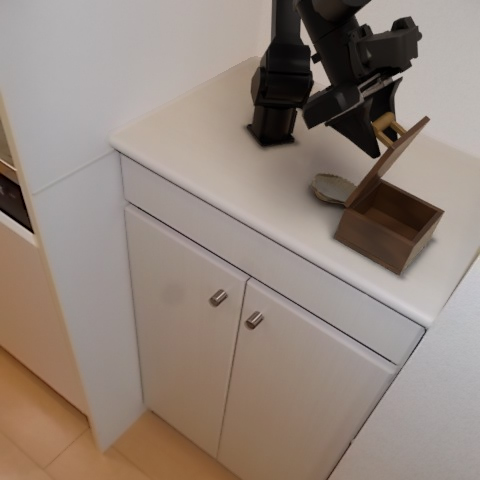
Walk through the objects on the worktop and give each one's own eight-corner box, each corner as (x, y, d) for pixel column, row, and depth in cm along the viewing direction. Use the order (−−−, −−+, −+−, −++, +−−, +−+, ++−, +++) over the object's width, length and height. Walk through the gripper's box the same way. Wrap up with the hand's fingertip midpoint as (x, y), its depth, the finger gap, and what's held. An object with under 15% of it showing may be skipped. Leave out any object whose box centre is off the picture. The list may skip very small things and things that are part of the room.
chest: (430, 239, 78) (445, 210, 74) (399, 275, 72) (414, 246, 68) (368, 206, 81) (379, 177, 77) (333, 238, 75) (344, 208, 71)
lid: (430, 119, 68) (403, 94, 68) (395, 149, 62) (365, 122, 62) (382, 176, 77) (358, 154, 77) (347, 208, 70) (321, 184, 71)
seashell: (360, 213, 82) (336, 175, 85) (371, 200, 80) (346, 161, 83) (321, 218, 78) (297, 178, 81) (331, 205, 76) (306, 163, 78)
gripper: (351, 11, 52) (412, 155, 57) (424, -22, 63) (470, 101, 67) (274, 64, 60) (332, 186, 65) (350, 27, 71) (395, 134, 76)
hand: (385, 150), depth 68 cm, fingers closed on lid, 5 cm apart
